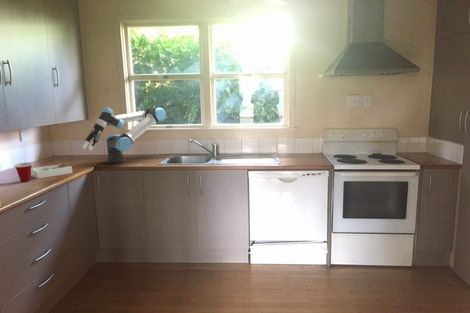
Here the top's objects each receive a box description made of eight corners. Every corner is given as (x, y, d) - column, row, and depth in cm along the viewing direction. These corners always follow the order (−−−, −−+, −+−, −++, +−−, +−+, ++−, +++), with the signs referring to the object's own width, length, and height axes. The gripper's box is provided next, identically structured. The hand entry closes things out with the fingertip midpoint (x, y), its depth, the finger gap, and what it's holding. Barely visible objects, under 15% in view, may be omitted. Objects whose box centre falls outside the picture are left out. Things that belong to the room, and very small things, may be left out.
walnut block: (65, 167, 273) (65, 162, 272) (68, 168, 269) (67, 163, 268) (58, 169, 269) (57, 163, 268) (60, 170, 265) (60, 164, 264)
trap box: (64, 170, 280) (63, 163, 279) (72, 172, 269) (71, 166, 268) (30, 175, 264) (29, 168, 263) (37, 178, 252) (36, 171, 251)
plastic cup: (14, 183, 239) (11, 166, 237) (18, 180, 249) (16, 163, 247) (32, 182, 242) (30, 164, 240) (36, 178, 252) (34, 161, 250)
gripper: (89, 123, 291) (76, 146, 286) (102, 123, 273) (88, 147, 267) (98, 127, 296) (85, 150, 291) (110, 128, 277) (97, 152, 272)
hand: (86, 149), depth 279 cm, fingers open, 13 cm apart
